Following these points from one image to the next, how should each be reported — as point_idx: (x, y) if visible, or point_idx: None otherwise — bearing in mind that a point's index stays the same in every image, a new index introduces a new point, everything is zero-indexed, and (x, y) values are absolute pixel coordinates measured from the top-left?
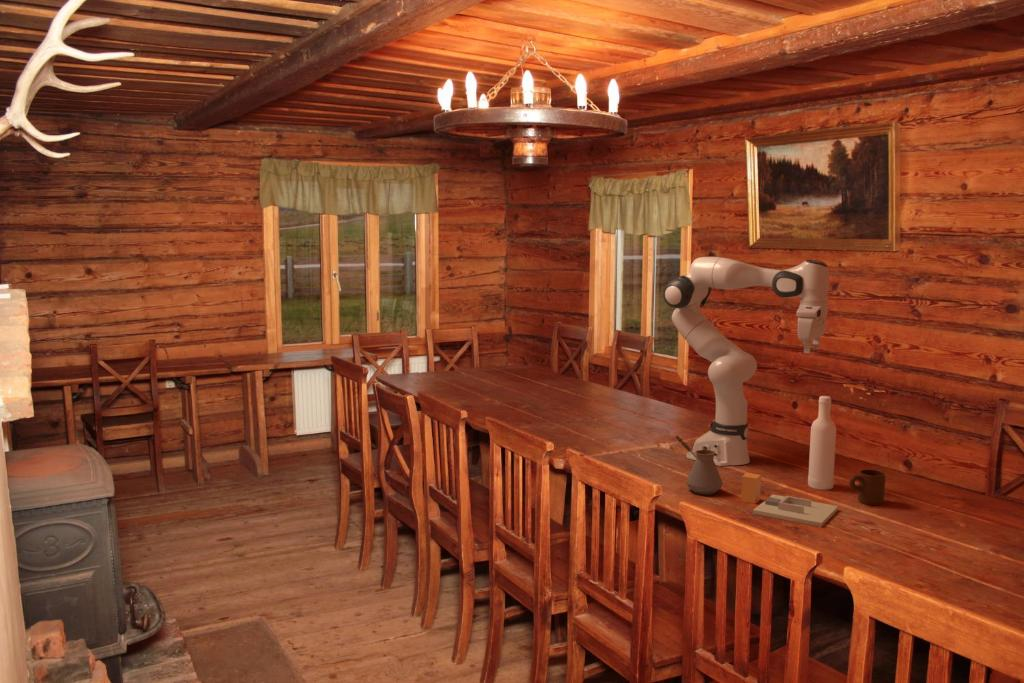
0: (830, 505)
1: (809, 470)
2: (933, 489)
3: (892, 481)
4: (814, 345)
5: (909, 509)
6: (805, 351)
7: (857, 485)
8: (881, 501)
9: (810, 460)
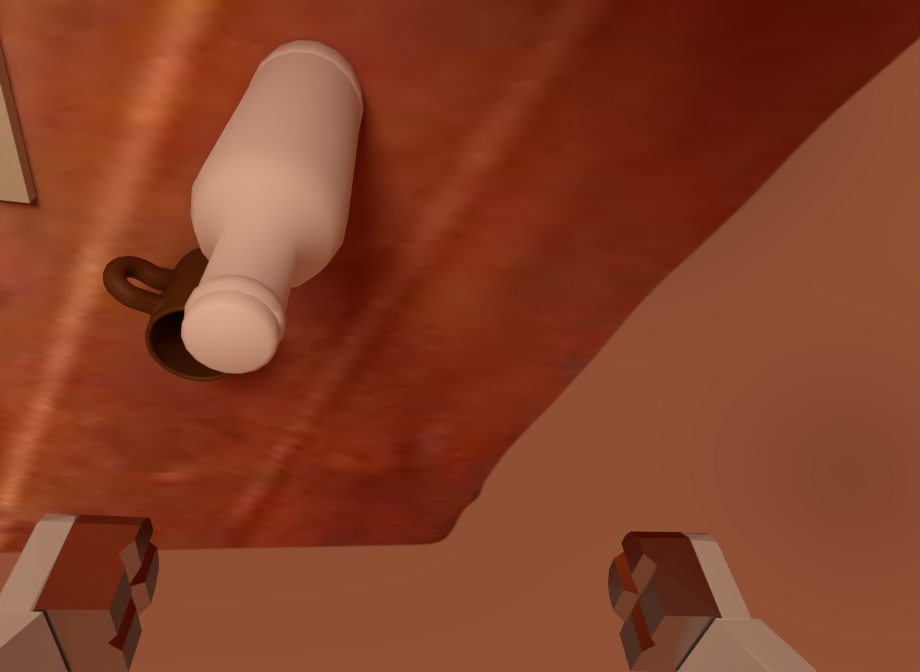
0: (12, 177)
1: (269, 66)
2: (471, 412)
3: (512, 316)
4: (650, 621)
5: None
6: (41, 553)
7: (151, 279)
8: None
9: (255, 86)
